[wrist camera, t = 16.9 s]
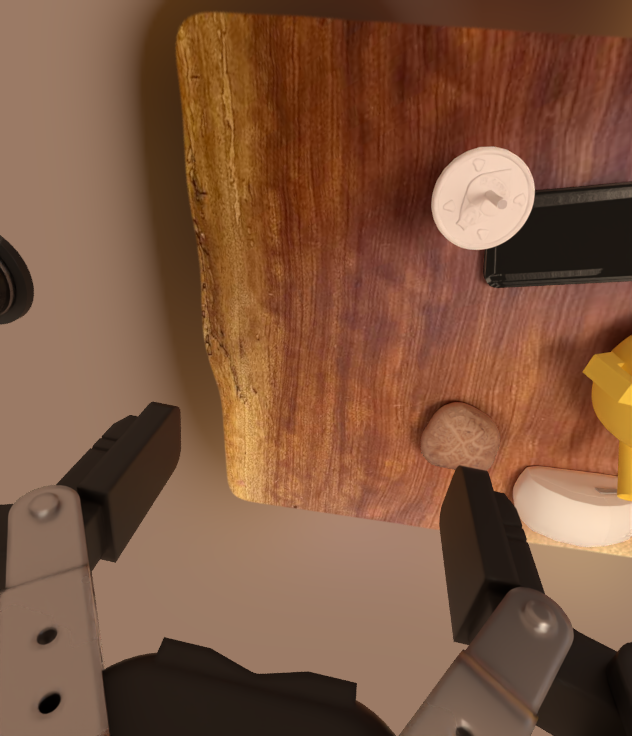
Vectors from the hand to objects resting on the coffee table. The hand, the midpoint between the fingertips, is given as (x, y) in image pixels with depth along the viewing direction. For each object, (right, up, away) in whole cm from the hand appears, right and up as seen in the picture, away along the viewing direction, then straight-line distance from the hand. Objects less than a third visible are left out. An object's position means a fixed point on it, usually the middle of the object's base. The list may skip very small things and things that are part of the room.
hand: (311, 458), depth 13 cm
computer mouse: (+29, -11, +37) cm, 48 cm away
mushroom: (+16, -4, +36) cm, 40 cm away
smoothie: (+13, +18, +25) cm, 33 cm away
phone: (+22, +14, +25) cm, 36 cm away
